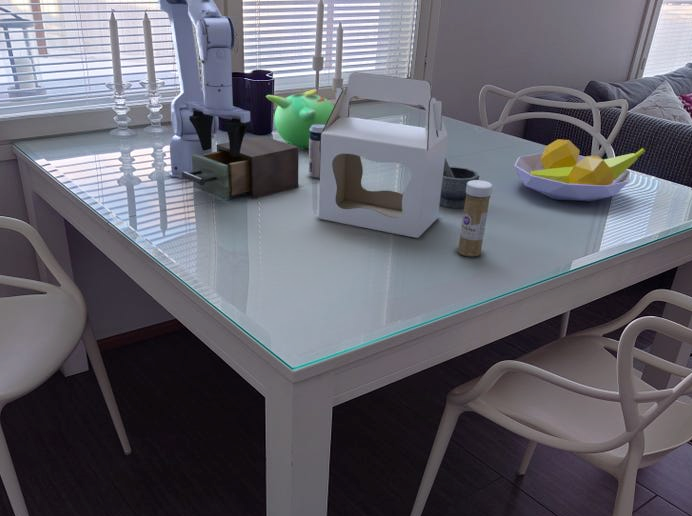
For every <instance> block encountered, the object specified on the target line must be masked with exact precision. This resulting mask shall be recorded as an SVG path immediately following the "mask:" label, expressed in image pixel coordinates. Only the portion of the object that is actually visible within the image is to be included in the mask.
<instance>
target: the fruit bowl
mask: <svg viewBox="0 0 692 516" xmlns="http://www.w3.org/2000/svg"><path fill="white" fill-rule="evenodd" d="M580 152H581V150H580V149H579V148H578V147H577V146H576V145H575V144H574V143H573V142H572V141H571V140H569V139H559V138H558V139H556V140H554V141H552V142H550V143H549V144H548V145H545V147H544V150H543V152H540V153H533V154H529V155H528V154H527V155H521V156H518V158H517V160H516V161H515V163H514V169H515V172H516V174H517V176H518V177H519V179H520V180H521V182H522V183H523V185H524V186H525V187H527V188H529V189H531V190H533V191H536V192H537V193H539V194H542V195H544V196H546V197H548V198H551V199H553V200H555V201H573V202H575V201H576V202H595V201H598V200H602V199H606V198H610V197H613V196H614V195H615V194H617V193H619V192H620V191H621V190H622V189H623V188H624V187H626V185H628V184H629V182H630V181H631V175H630V174H631V171H630V170H628V169H630V167H631V166H632V165H634V164H635V162H636V161H638V158H639V157H641V156H642V155H643V154H644V153H646V150H645V148H643V147H642V148H640V149H639V150H638V151H636V152H635V153H634V152H632V153H626V154H622V155H618V156H613V157H609V158H604V159H603V158H602V157H600V156H599V155H598V154H597V155H586V156H584V155H580Z"/></svg>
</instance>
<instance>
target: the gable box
mask: <svg viewBox="0 0 692 516" xmlns="http://www.w3.org/2000/svg"><path fill="white" fill-rule="evenodd" d="M432 91H433V86H432V85H431V82H430V81H428V80H426V79H425V80H424V79H418V78H417V79H416V78H410V77H409V78H408V77H400V76H392V75H383V74H374V73H365V72H359V71H353V72H351V73H350V74H349V75H348V80H347V85H346V86H344V88H343V87H336V91H335V99H334V100H335V101H334V105H333V106H334V108H333V110H332V112H331V114H330V116H329V118H328V120H327V123H326V125H325V127H324V129H323V131H322V133H321V161H320V179H319V193H318V195H319V197H318V198H319V199H318V219H319V220H324V221H328V222H332V223H333V222H334V223H338V224H343V225H347V226H348V225H349V226H354V227H359V228H363V229H368V230H373V231H379V232H383V233H388V234H392V235H393V234H394V235H399V236H403V237H409V238H414V239H419V238H420V237H421V236H422V235H423V234H424V233H425V232H426V231H427V230H428V229H429V228H430V227H431V226H432V224H433V223H434V222H436V221H437V219H438V218H439V210H440V195H441V187H442V179H443V171H444V163H445V158H446V153H447V146H448V137H449V135H448V132H447V129H446V126H445V123H444V120H443V100H440V99H439V100H436V97H433V95H432ZM353 98H354V99H357V100H358V99H365V100H373V101H378V102H379V101H380V102H387V103H396V104H403V105H409V106H410V105H411V106H417V107H419V108H424V110H425V113H426V116H425V125H424V127H421V126H416V125H415V126H414V125H407V124H401V123H394V122H387V121H380V120H373V119H366V118H359V117H352V116H351V117H350V104H351V100H353ZM337 119H338V120H337ZM361 157H362V158H363V159H367V160H369V161H372V162H376V163H393V164H400V165H403V166H405V167H406V168H408V169H409V171H410V174H411V175H410V180H409V182H408V183H407V185H406V187H405V189H404V192H403V194H402V193H400V192H398V191H394V190H393V191H392V190H367V189H365V188H364V187H363V186H362V180H363V179H362V178H363V173H364V168H363V164H362V163H363V162H362V159H361Z"/></svg>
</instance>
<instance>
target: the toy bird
mask: <svg viewBox="0 0 692 516" xmlns="http://www.w3.org/2000/svg"><path fill="white" fill-rule="evenodd" d="M317 91H318V89H311V90H307V91H303V92H298V93H294V94H291V95H289V96H287V97H283V96H278V95H273V94H267V95H266V96H265V98H266V99H267V100H269V101H270V102H272V103H273V104H275V105H277V106H276V109H275V111H274V117H273V122H274V127H275V130H276V131H277V133H278V135H279V136H280V138H282V139H283V141H285V142H286V143H287V144H290V145H293V146H297V147H299V148H304V149H309V130H310V128H311V126H312V125H313V124H325V125H326V123H327V120H328V118H329V116H330V114H331V112H332V110H333V108H334V106H335V105H334V104H333V103H332V102H331V101H329V100H328V99H327V98H325V97H324V96H322V95H318V94H316V92H317ZM337 120H338V119H337Z"/></svg>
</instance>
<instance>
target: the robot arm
mask: <svg viewBox="0 0 692 516" xmlns="http://www.w3.org/2000/svg"><path fill="white" fill-rule="evenodd" d="M157 3H158V6H159V9H160V10H161V11H163V12H165V13H166V14H167V18H168V21H169V24H170V30H171V35H172V42H173V43H172V44H173V50H174V55H175V63H176V69H177V76H178V83H179V89H180V93H179V94H178V95H177V96H175V98H174V99H172V101H171V104H170V112H171V114H170V119H171V121H170V122H171V126H172V131H173V134H174V135H173V136H172V138H171V139H170V143H169V156H170V170H171V173H170V177H174V178H181V179H184V178H183V177H182V173H183V172H184V171H186V172H188V173H190V172H193V168H192V154H198V155H201V156H203V154H207V153H212V152H213V139H214V138H215V135H216V134H217V133H218V131H219V128H220V121H219V118H222V119H227V120H229V121H226V122H224V126H225V130H226V132H227V137H228V142H229V145H230V154H231V157H235V156H238V155H239V154H240V149H241V144H242V141H243V140H244V139H245V138H244V137H245V134H246V132H247V130H248V128H249V127H250V125H251V123H250V122H251V111H250V110H245V109H242V108H240V107H237V106H234V104H233V103H234V102H233V101H234V100H233V75H232V74H233V73H232V70H233V69H232V50H234V47H235V43H236V31H235V25H234V22H233V19H232V18H231V16H225V15H224V16H223V14H222V13H221V11H220V10H219V8H218V6H217V4H216V2H215V1H214V0H157ZM193 26H194V28H195V34H194V28H193ZM194 35H196V42H197V45H198V55H199V59H201V66H202V67H201V68H202V83H201V75H200V70H199V62H198V56H197V49H196V42H195V36H194ZM202 86H203V87H202ZM202 89H203V90H202ZM230 120H231V121H230Z"/></svg>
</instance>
